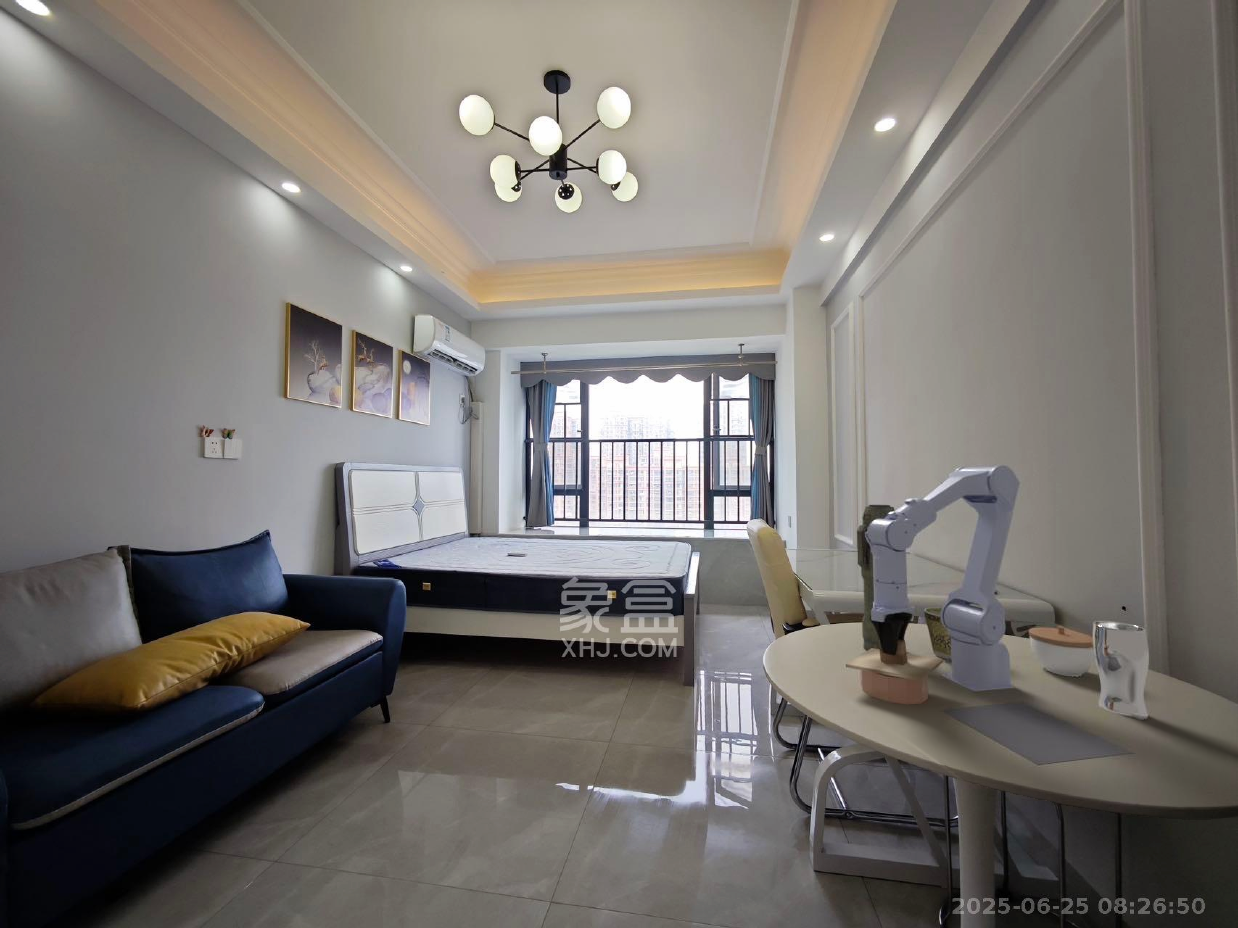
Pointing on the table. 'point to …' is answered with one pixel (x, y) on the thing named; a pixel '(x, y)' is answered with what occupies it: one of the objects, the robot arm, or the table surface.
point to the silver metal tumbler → (1121, 666)
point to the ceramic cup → (938, 633)
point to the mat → (1035, 733)
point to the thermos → (869, 571)
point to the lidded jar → (1062, 650)
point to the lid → (896, 663)
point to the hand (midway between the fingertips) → (892, 651)
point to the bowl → (894, 688)
